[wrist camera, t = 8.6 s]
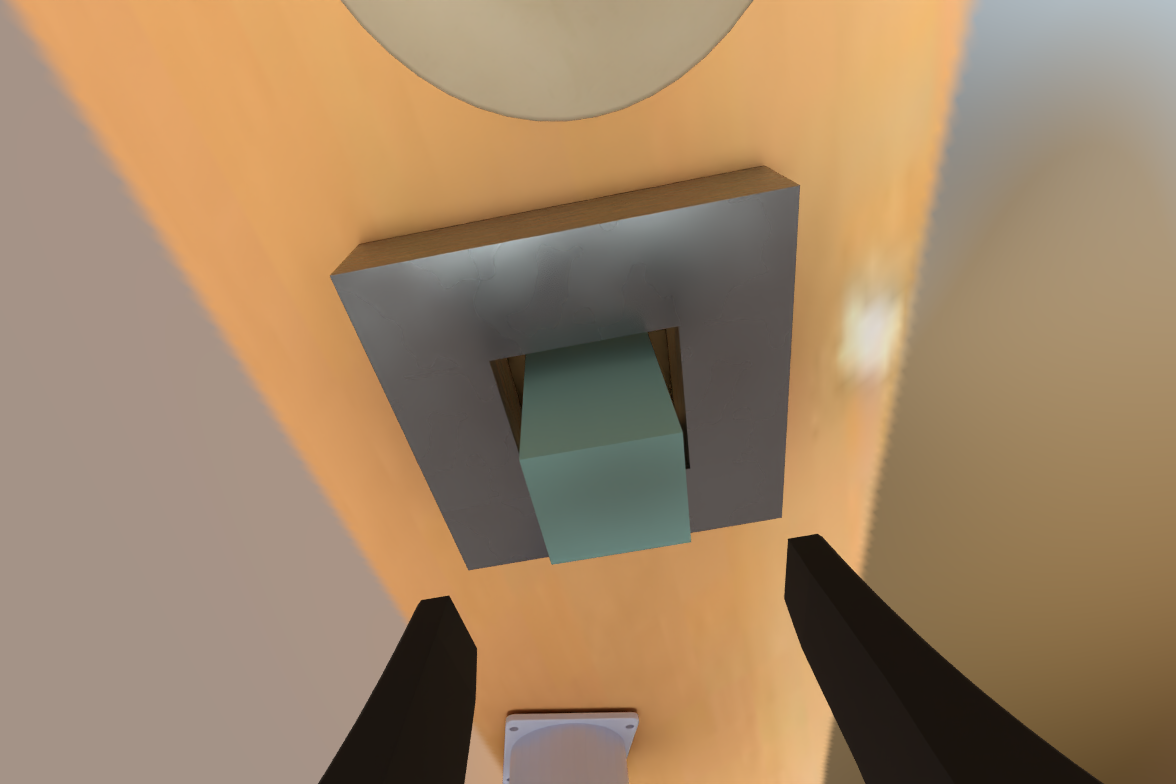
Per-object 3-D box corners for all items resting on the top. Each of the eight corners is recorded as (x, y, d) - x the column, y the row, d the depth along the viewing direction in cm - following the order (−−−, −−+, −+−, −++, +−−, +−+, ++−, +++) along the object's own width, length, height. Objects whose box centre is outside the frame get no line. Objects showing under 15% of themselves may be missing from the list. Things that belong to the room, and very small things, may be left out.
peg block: (654, 416, 20) (691, 541, 15) (550, 434, 20) (551, 564, 15) (643, 321, 18) (682, 432, 13) (526, 342, 18) (519, 460, 13)
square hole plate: (758, 472, 22) (781, 517, 20) (475, 520, 22) (468, 570, 20) (764, 165, 15) (800, 185, 13) (358, 244, 15) (329, 275, 13)
